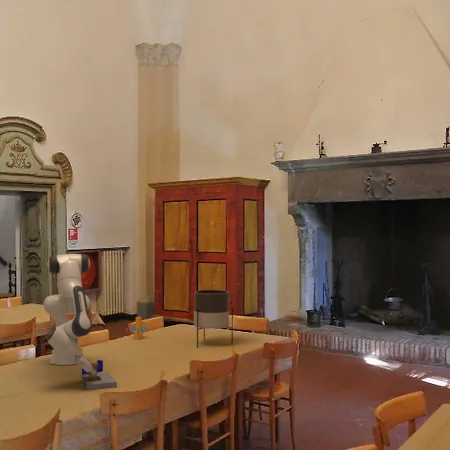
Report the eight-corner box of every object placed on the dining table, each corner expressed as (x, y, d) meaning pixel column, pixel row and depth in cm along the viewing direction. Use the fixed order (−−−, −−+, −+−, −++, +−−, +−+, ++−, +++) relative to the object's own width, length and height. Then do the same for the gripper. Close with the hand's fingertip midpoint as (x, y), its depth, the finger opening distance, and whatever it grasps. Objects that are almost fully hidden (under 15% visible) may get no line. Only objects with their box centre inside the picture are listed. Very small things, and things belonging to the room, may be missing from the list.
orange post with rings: (150, 338, 413) (150, 316, 413) (140, 340, 404) (140, 318, 404) (136, 336, 419) (136, 315, 419) (126, 338, 411) (127, 317, 410)
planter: (216, 350, 375) (217, 295, 375) (184, 346, 388) (184, 292, 388) (237, 343, 398) (237, 291, 397) (206, 339, 411) (206, 288, 411)
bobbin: (85, 381, 297) (86, 363, 297) (97, 380, 299) (97, 362, 299) (87, 383, 292) (88, 365, 292) (99, 382, 294) (99, 364, 294)
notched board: (81, 379, 303) (81, 374, 303) (108, 377, 309) (108, 372, 309) (87, 389, 285) (87, 384, 285) (116, 387, 290) (116, 382, 290)
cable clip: (87, 376, 310) (87, 365, 310) (81, 375, 313) (81, 363, 313) (104, 372, 320) (104, 360, 320) (99, 370, 323) (99, 359, 323)
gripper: (82, 353, 283) (102, 372, 287) (75, 345, 302) (94, 362, 306) (72, 363, 282) (93, 382, 285) (66, 354, 301) (85, 372, 304)
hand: (93, 372), depth 296 cm, fingers closed on bobbin, 4 cm apart
